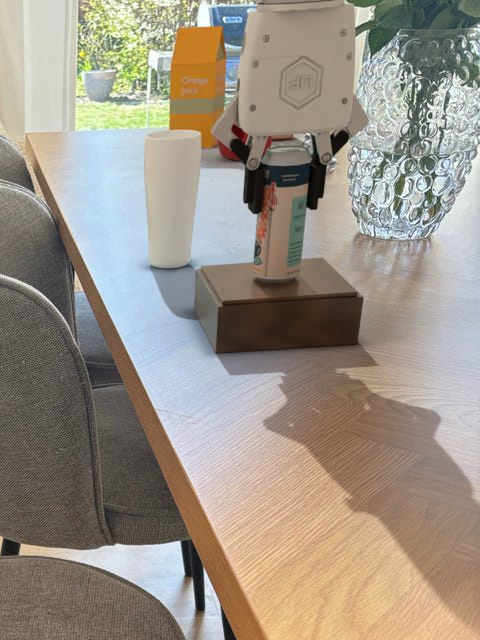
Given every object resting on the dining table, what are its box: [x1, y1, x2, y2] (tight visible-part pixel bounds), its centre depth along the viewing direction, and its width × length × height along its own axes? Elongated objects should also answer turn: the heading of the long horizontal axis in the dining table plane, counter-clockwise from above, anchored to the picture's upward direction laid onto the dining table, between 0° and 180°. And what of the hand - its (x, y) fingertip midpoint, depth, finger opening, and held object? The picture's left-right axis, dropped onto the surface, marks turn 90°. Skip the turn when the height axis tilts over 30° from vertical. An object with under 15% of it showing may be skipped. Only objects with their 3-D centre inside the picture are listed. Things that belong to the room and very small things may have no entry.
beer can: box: [252, 144, 312, 283], centre depth 98 cm, size 5×5×12 cm
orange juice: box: [168, 25, 227, 149], centre depth 191 cm, size 8×9×20 cm
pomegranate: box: [217, 122, 273, 161], centre depth 179 cm, size 10×10×9 cm
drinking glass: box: [143, 129, 202, 270], centre depth 122 cm, size 7×7×15 cm
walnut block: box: [193, 257, 364, 354], centre depth 103 cm, size 14×14×5 cm
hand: (282, 207), depth 97 cm, fingers closed on beer can, 4 cm apart
